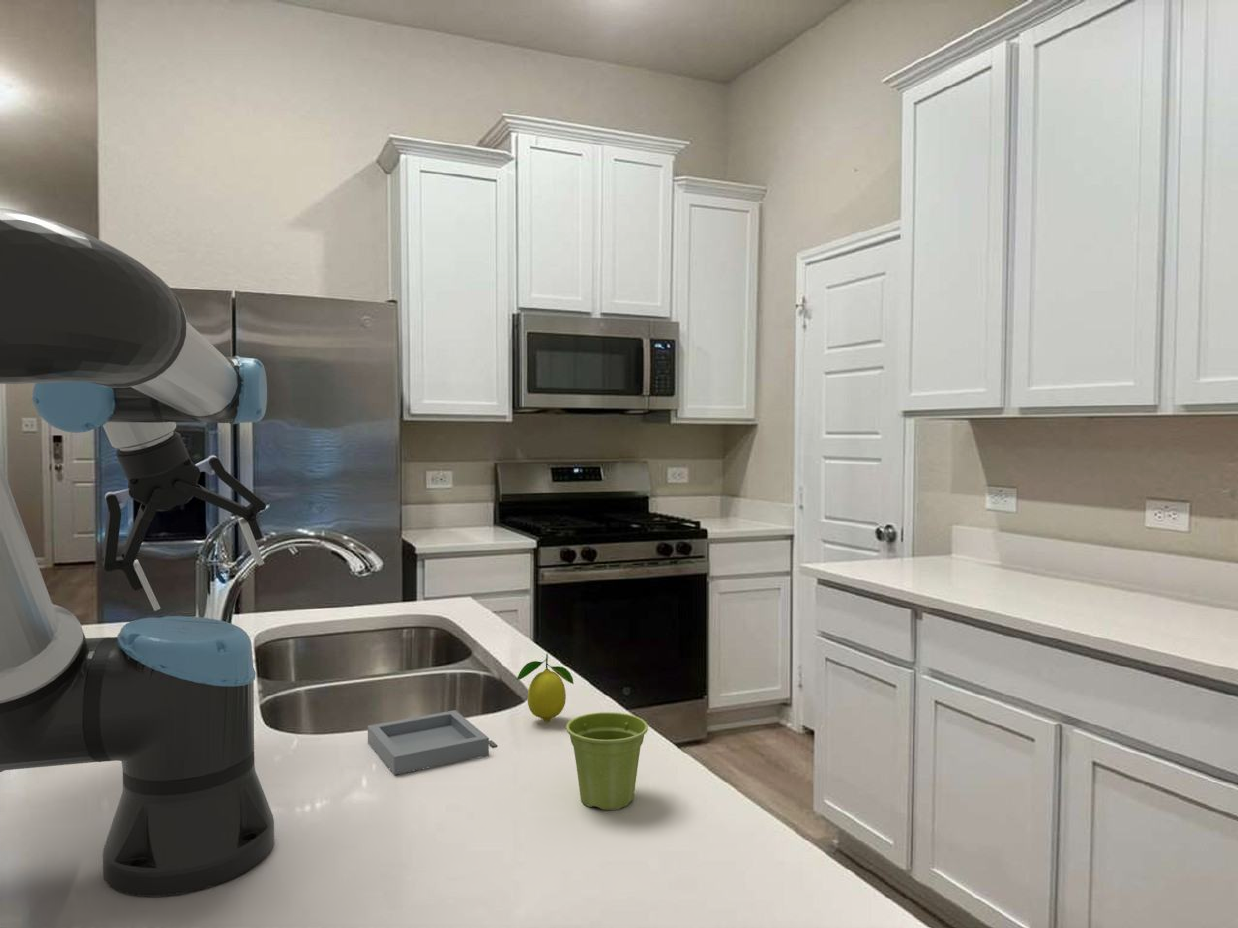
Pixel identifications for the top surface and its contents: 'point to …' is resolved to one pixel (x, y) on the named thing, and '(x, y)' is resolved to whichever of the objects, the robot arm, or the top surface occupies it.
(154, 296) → the robot arm
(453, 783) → the top surface
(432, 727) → the dish
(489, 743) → the perforation strip
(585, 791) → the plant pot
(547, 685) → the lemon
